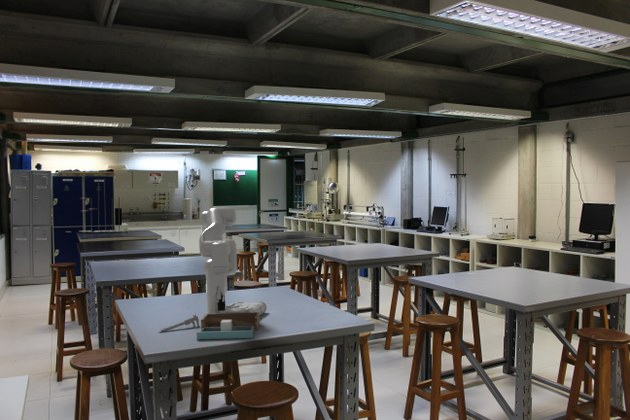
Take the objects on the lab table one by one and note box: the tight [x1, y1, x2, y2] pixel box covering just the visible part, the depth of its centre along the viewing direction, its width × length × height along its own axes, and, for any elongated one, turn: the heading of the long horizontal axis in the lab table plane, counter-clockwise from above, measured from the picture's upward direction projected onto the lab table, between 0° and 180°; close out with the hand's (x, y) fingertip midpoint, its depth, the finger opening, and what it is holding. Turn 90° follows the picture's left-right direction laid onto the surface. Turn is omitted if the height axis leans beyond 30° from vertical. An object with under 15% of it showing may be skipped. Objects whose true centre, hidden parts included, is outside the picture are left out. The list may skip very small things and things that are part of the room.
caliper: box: [158, 313, 200, 333], centre depth 249 cm, size 20×1×6 cm, turn 124°
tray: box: [196, 325, 255, 340], centre depth 235 cm, size 12×26×3 cm, turn 91°
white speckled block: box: [220, 320, 233, 331], centre depth 235 cm, size 5×5×6 cm
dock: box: [200, 312, 261, 331], centre depth 248 cm, size 12×27×6 cm, turn 91°
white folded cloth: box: [220, 301, 268, 317], centre depth 273 cm, size 19×28×8 cm
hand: (221, 310), depth 224 cm, fingers closed
